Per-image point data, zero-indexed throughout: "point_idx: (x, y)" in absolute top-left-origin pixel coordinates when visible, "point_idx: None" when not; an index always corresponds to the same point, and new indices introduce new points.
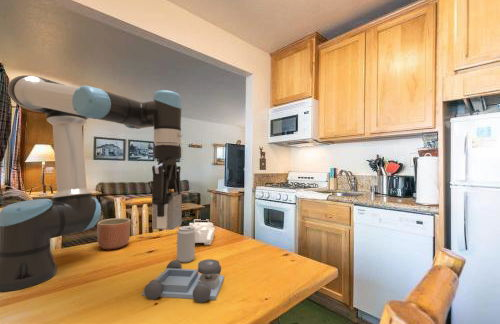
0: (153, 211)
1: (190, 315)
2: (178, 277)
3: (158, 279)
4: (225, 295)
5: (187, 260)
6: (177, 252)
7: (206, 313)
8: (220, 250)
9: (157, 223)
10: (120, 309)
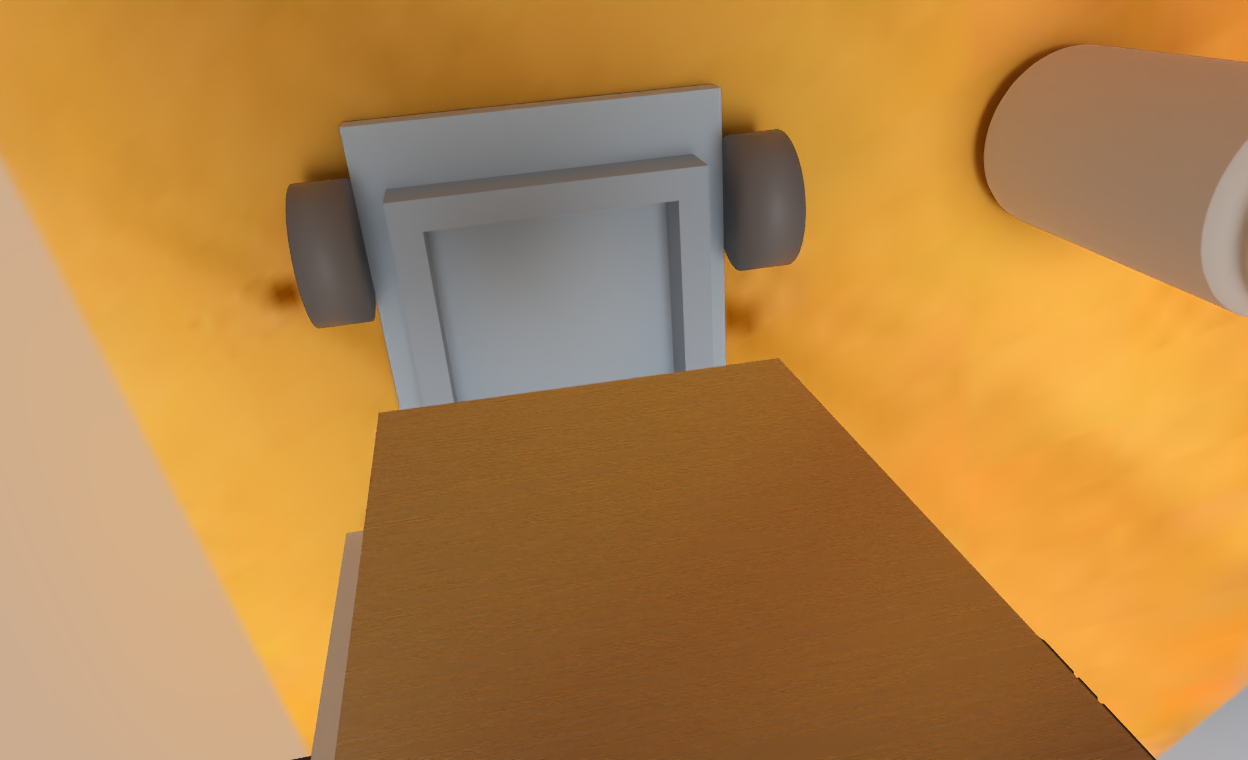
0: (356, 672)
1: (249, 555)
2: (644, 286)
3: (472, 216)
4: None
5: (993, 191)
6: (1072, 82)
7: (302, 619)
8: (1242, 352)
9: (338, 603)
10: (104, 72)
